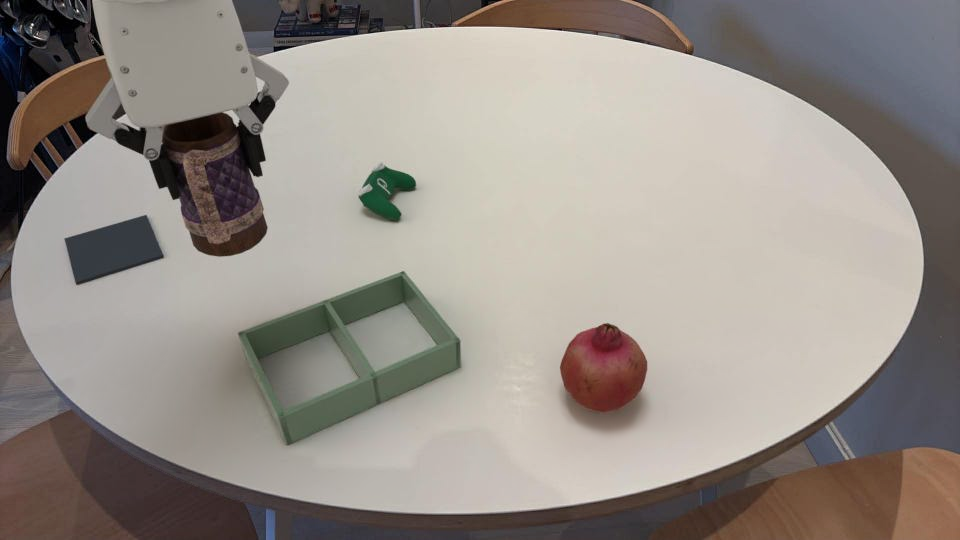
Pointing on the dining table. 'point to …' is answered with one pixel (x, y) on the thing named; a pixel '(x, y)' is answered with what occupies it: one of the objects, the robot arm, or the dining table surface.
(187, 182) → the mug
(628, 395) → the fruit
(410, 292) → the divided box
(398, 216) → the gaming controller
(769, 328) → the dining table surface
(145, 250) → the mat
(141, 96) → the robot arm
